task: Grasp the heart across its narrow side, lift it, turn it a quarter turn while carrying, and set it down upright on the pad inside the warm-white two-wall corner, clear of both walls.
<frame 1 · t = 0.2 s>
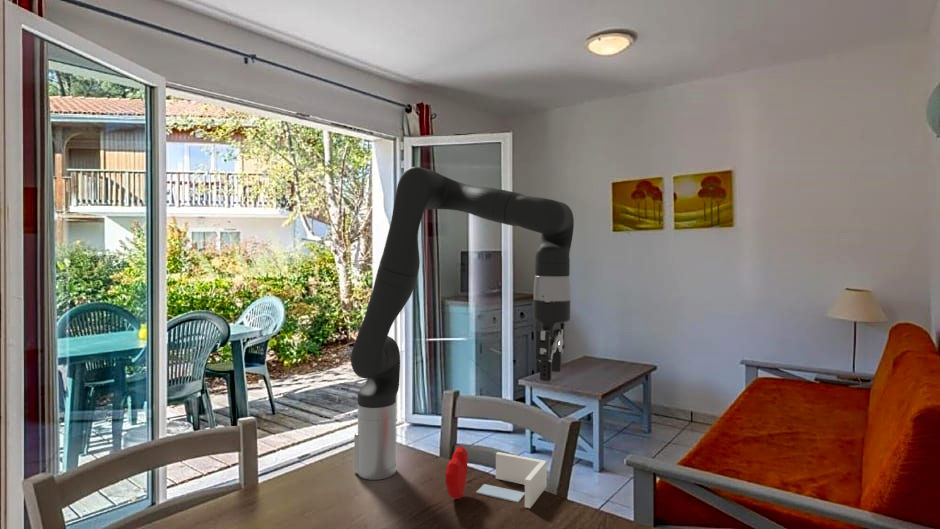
hand: (550, 375, 108), 28 cm above the table, fingers open, 8 cm apart
corner walls: (512, 491, 118), on the table
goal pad: (500, 493, 117), on the table
heart: (457, 499, 114), on the table
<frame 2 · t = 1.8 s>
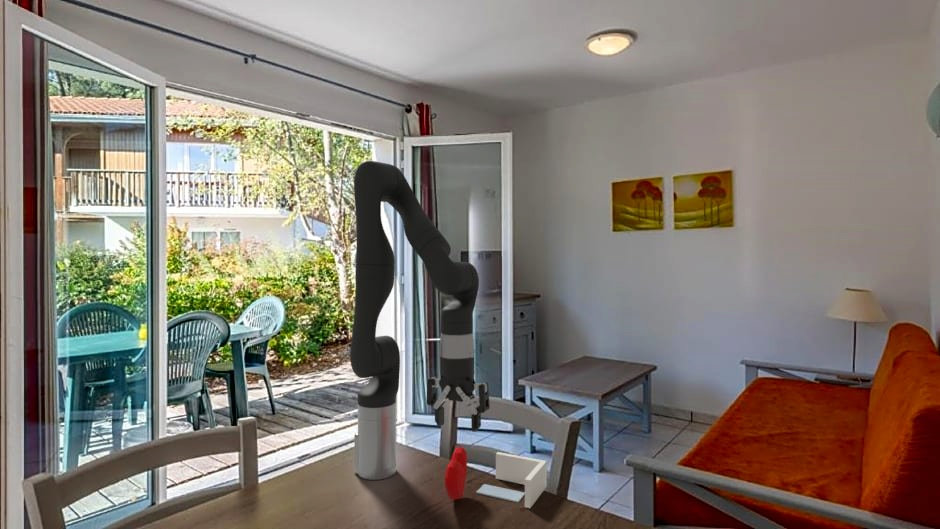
hand: (457, 427, 114), 16 cm above the table, fingers open, 8 cm apart
nothing on the table moved.
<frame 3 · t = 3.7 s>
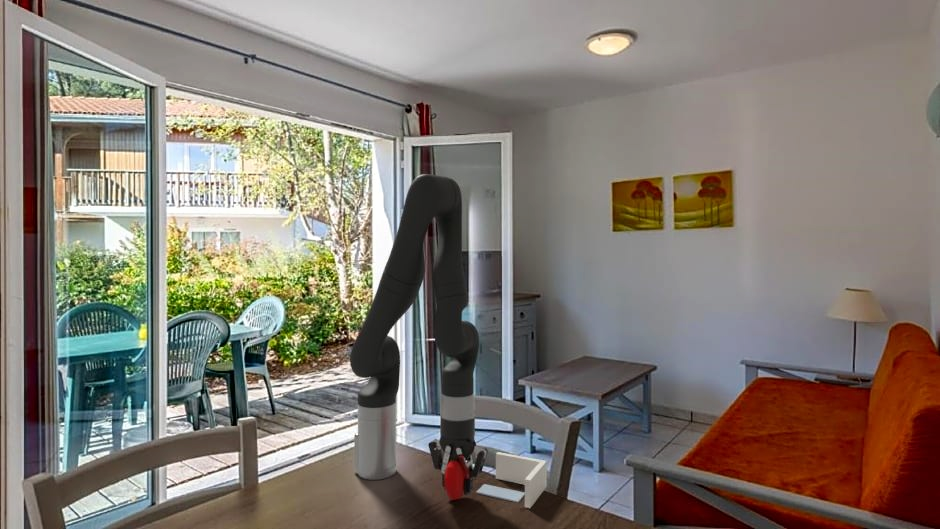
hand: (457, 490, 114), 2 cm above the table, fingers closed on heart, 4 cm apart
heart: (457, 499, 114), on the table, touching gripper
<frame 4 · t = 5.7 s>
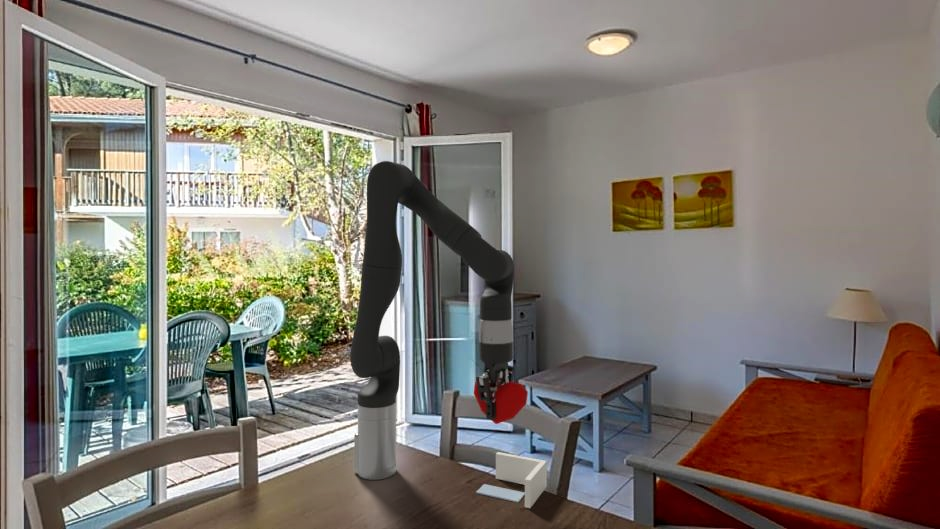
hand: (496, 415, 116), 18 cm above the table, fingers closed on heart, 4 cm apart
heart: (496, 424, 116), point 16 cm above the table, touching gripper
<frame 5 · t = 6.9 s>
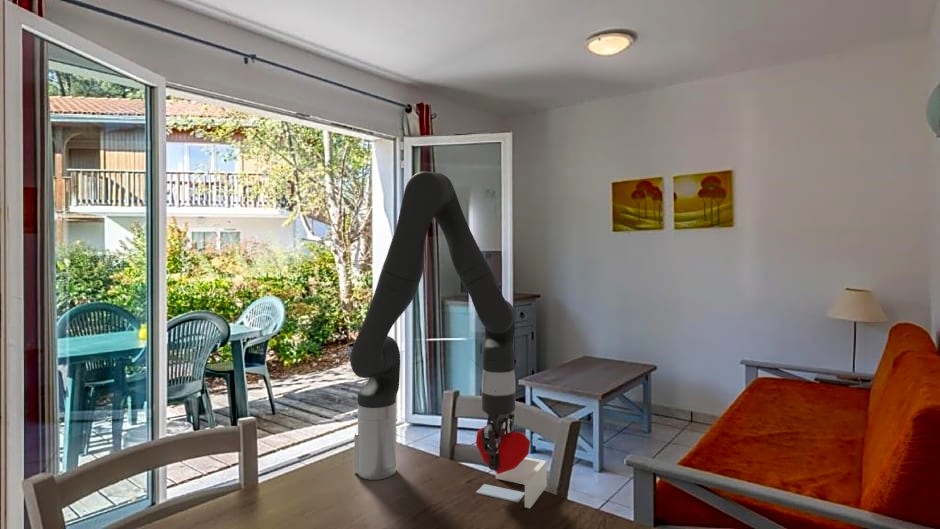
hand: (498, 465, 117), 6 cm above the table, fingers closed on heart, 4 cm apart
heart: (498, 474, 117), point 4 cm above the table, touching gripper
when the fingers open (3 cm above the table, at t = 7.8 s): heart stays where it is, resting on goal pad.
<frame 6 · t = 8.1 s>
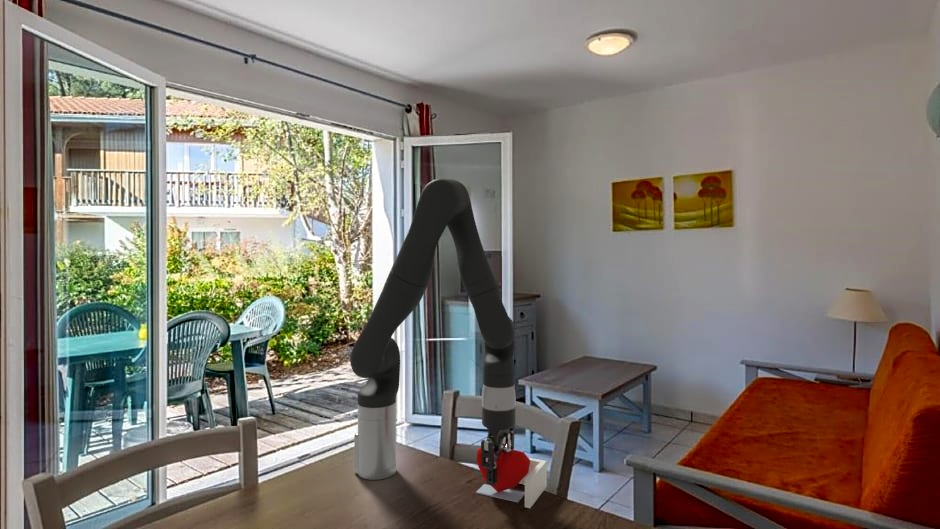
hand: (498, 477, 117), 4 cm above the table, fingers open, 6 cm apart
heart: (498, 492, 117), resting on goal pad
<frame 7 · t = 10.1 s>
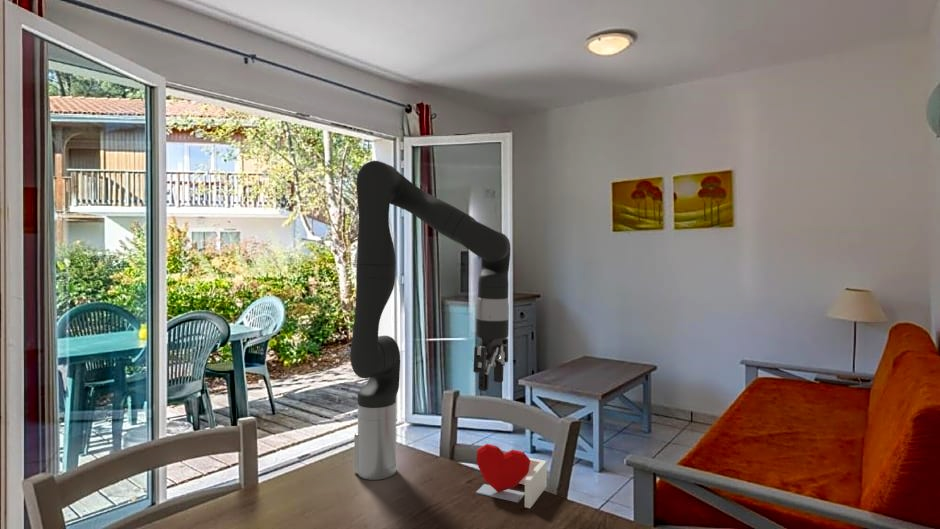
hand: (491, 385, 122), 23 cm above the table, fingers open, 8 cm apart
nothing on the table moved.
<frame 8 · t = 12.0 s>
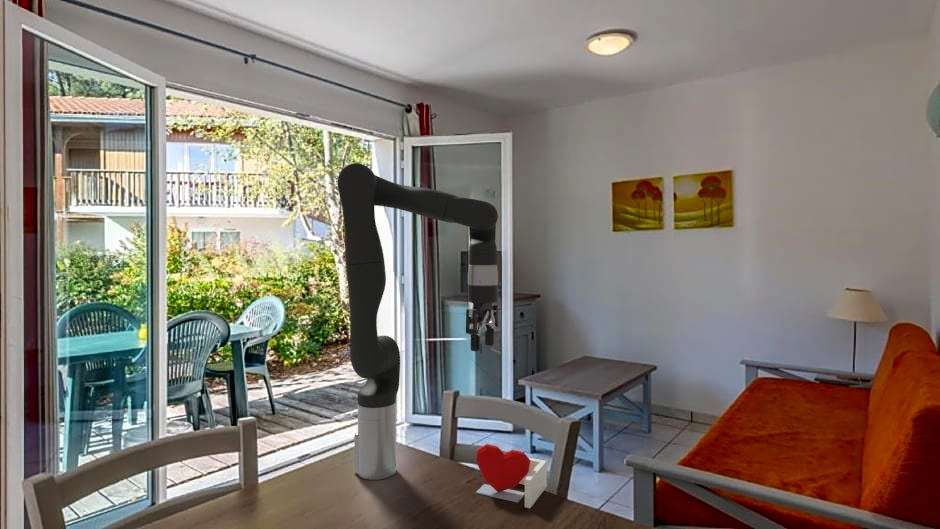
hand: (482, 348, 130), 30 cm above the table, fingers open, 8 cm apart
nothing on the table moved.
at the end: heart 0.4 cm from the target spot, on the table; heart tilted 8°; heart touching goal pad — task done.
